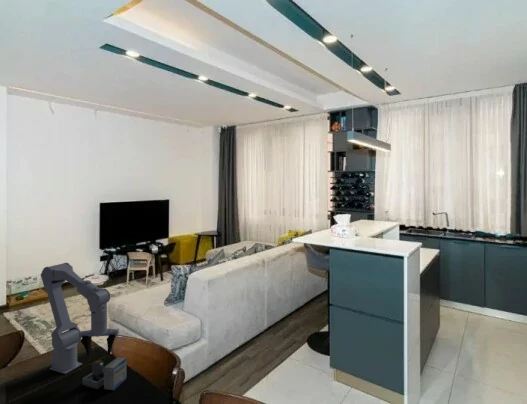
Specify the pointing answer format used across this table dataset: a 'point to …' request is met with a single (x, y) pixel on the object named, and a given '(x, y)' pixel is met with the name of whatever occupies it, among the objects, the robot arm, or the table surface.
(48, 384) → the table surface
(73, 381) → the table surface
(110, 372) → the medicine box
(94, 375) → the battery cell
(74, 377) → the table surface
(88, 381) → the trough
